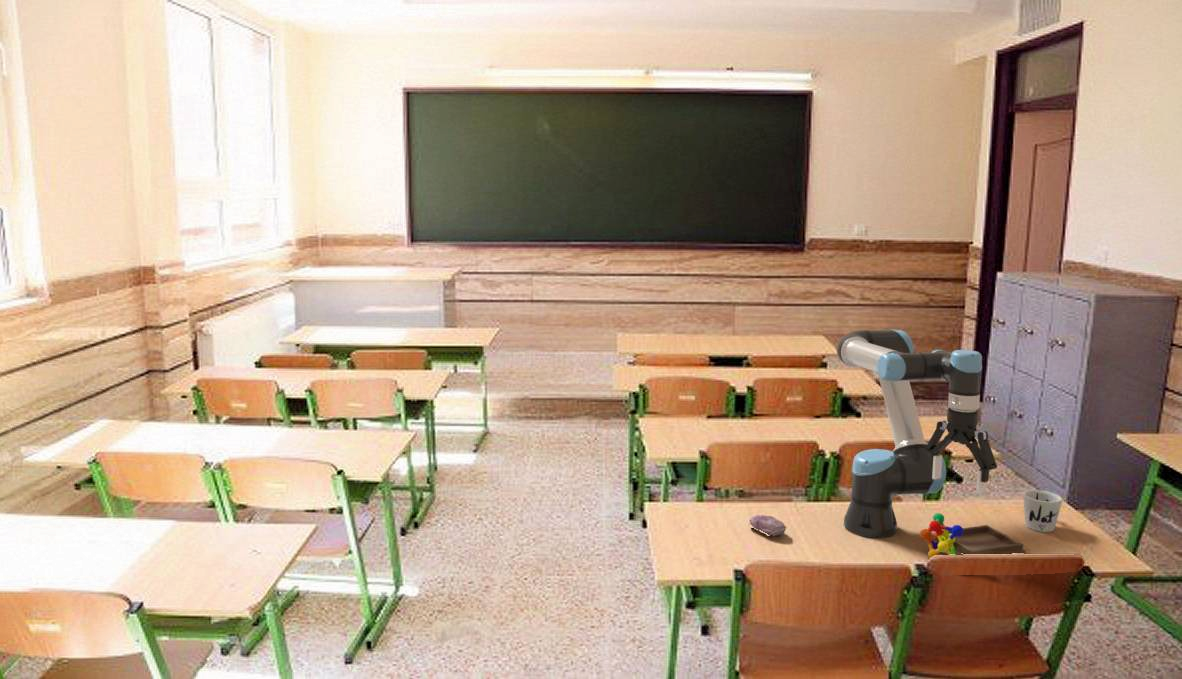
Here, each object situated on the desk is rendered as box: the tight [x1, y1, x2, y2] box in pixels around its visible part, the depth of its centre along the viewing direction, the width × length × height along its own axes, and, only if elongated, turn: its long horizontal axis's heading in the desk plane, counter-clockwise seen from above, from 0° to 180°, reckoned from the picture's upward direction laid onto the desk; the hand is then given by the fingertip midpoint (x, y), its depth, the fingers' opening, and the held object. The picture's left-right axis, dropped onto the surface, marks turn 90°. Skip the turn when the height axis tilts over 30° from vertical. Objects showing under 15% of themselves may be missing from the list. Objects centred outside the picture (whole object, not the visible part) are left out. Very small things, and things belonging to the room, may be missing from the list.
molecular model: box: [919, 512, 964, 559], centre depth 226 cm, size 12×7×12 cm, turn 9°
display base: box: [934, 524, 1026, 554], centre depth 235 cm, size 16×17×2 cm
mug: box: [1022, 489, 1063, 533], centre depth 249 cm, size 10×15×10 cm
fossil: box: [749, 514, 787, 537], centre depth 246 cm, size 8×14×5 cm, turn 27°
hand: (957, 485), depth 223 cm, fingers open, 13 cm apart
